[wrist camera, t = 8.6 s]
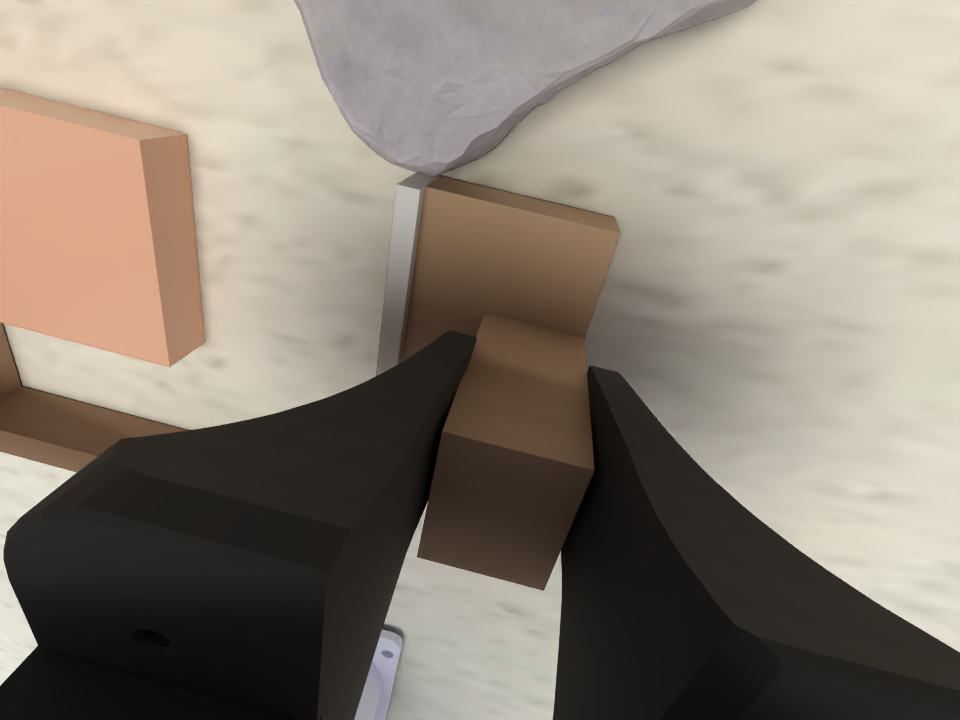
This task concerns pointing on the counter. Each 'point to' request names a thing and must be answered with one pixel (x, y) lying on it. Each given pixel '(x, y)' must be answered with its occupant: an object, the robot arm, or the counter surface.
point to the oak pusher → (500, 364)
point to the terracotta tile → (97, 230)
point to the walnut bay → (59, 422)
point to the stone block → (471, 63)
